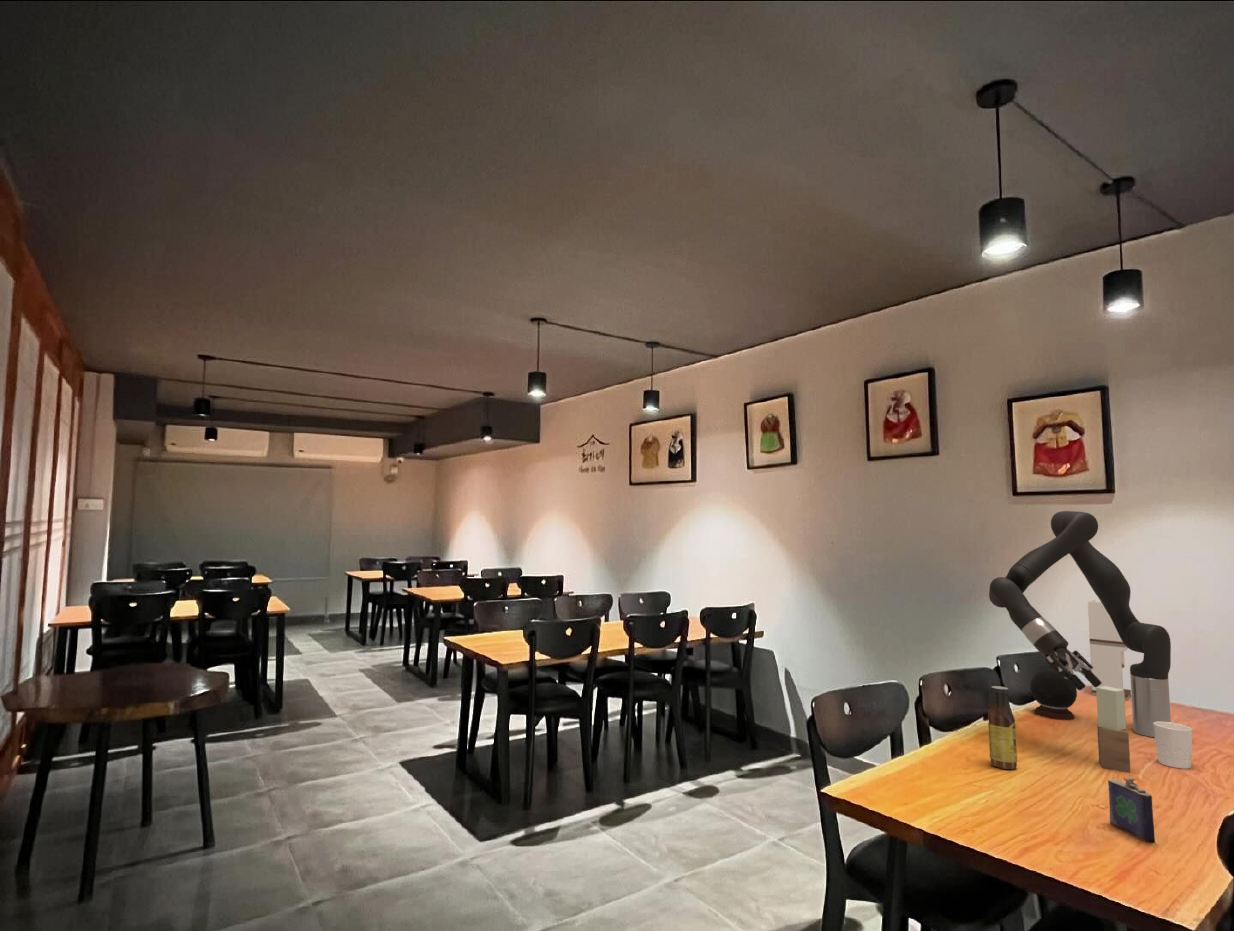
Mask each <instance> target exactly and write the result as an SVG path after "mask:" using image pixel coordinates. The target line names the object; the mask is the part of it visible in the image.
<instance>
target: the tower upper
mask: <svg viewBox="0 0 1234 931" xmlns="http://www.w3.org/2000/svg"><path fill="white" fill-rule="evenodd" d="M1096 727H1097V728H1096V729H1097V731H1096V732H1097V745H1098V744H1099V746H1100V748H1101V749H1107V750H1114V751H1121V752H1127V753H1130V737H1129V735H1130V734H1129V732H1128V729H1127V728H1126V729H1124V730H1120V731H1115V730H1111V729H1106V728H1102V727H1098V722H1097V723H1096Z"/></svg>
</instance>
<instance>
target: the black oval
mask: <svg viewBox="0 0 1234 931" xmlns="http://www.w3.org/2000/svg"><path fill="white" fill-rule="evenodd" d="M1030 680H1031V681H1030V686H1029V688H1030V693H1031V695H1032V696H1033V698H1034V700H1035V701H1036V702H1037V703H1038V704H1039V706H1037V707H1036V708H1034V714H1035V715H1037V716H1040V717H1043V718H1047V719H1051V720H1061V721H1071V720H1074V719H1075V715H1074V714H1073V712H1072V711H1071V710H1069V709H1068V708H1071V707H1072V706H1073V705H1074V703H1075V702H1076V700H1077V696H1078V691H1077V688H1076V687H1075V686H1074V685H1073V684H1072V683H1071V682H1070V681H1069V680H1068V679H1066V678H1064V677H1062V678H1061V677H1060V676H1059V675H1058V674H1057V673H1056V672H1055V671H1054V670H1053V669H1052V668H1047V669H1042V670H1038V672H1036V673H1035V674H1034V675H1033V677H1032V678H1031V679H1030Z"/></svg>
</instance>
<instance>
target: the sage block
mask: <svg viewBox="0 0 1234 931" xmlns="http://www.w3.org/2000/svg"><path fill="white" fill-rule="evenodd" d="M1123 689H1124V688H1123ZM1123 689H1118V688H1113V687H1108V686H1102V687H1097V688H1096V692H1097V696H1096V706H1097V707H1096V708H1097V710H1096V711H1097V723H1098V727H1102V728H1106V729H1111V730H1115V731H1120V730H1124V729H1126V730H1127V719H1126V718H1127V717H1126V716H1127V714H1126V700H1125V695H1124V690H1123Z"/></svg>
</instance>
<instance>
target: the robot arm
mask: <svg viewBox="0 0 1234 931" xmlns="http://www.w3.org/2000/svg"><path fill="white" fill-rule="evenodd" d="M1050 527H1051V531H1052V534H1053V535H1054V536H1055V537H1054V538H1052V539H1051V540H1049V541H1048V542H1046V543H1044V544H1042V545H1040V546H1038V547H1037V548H1034V549H1033V550H1030V551H1028V552H1027V553H1026V554H1024V555H1023V556H1022V557H1021V558H1019V560H1017V561H1016V562H1015V563H1014V564H1013V565H1012V566H1011V567H1010V569H1009V570H1008V572H1007V575H1005V577H1004V576H999V577H996V578H993V579H992V581H991V582H990V584H989V591H988V598H989V601H990V602H991V603H992V605H993V606H995V607H998V608H1000V609H1001V608H1003V609H1004V608H1005V609H1006V610H1007V612H1008V615H1009V617H1010V619H1011V621H1012V622H1013V623H1014V624H1015V626H1016V627H1017V628H1018V629H1019V630H1020V631H1021V632H1022V633H1023V635H1024V636H1025V638H1026V639H1027V640H1028V641H1029V642H1030V643H1031V645H1033V647H1035V649H1036V650H1037V651H1038V653H1039V654H1040V655H1042V657H1043V658H1044V661H1046V663H1047V664H1048V665H1049V666H1050V667H1051V669H1053V670H1054V671H1055V672H1056V673H1057V674H1058V675H1059V676H1060V677H1061V678H1062V677H1064V678H1066V679H1068V680H1069V681H1070V682H1071V683H1072V684H1073V685H1074V686H1075V687H1076V689H1077V690H1078V691H1082V690H1083V689H1085V688H1086V684H1085V683H1084V682H1083V681H1082V679H1080V677H1078V675H1076V673H1075V672H1078V673H1080V674H1081V675H1082V676H1084V678H1085V679H1086V680H1087V681H1088V682H1089V683H1090V684H1091V686H1092V685H1093V686H1094V687H1098V686H1099V685H1101V684H1102V682H1101V681H1100V680H1099V679H1098V678H1097V677H1096V676H1095V675H1094V674H1093V673H1092V672H1091V671H1092V669H1093V666H1092V665H1091V662H1089V661H1087V659H1086V658H1085V657H1084V656H1083V655H1082V654H1081V653H1080V652H1079V651H1078V650H1076V649H1075V650H1074V651H1072V652H1071V651H1070V650H1069V649H1068V646H1069V641H1067V639H1066V638H1065V637H1064V636H1063V635H1062V634H1061V633H1060V632H1059V631H1058V630H1057V629H1056V628H1055V626H1053V625H1052V624H1051V623H1050V622H1049V621H1047V620H1046V619H1045V618H1044V617H1043V616H1042V615H1041V613H1040V612H1038V611H1037V610H1036V608H1034V606H1032V604H1030V602H1029V600H1028V599H1027V597H1026V595H1025V594H1024V593H1025V591H1026V590H1027V589H1028V588H1029V586H1031V585H1032V584H1033V583H1034V582H1035V581H1036V580H1038V579H1039V578H1040V577H1041V576H1042V575H1043V574H1044V573H1045V572H1046V571H1047V570H1048V569H1050V568H1051V567H1052V566H1054V565H1055V564H1057V562H1059V561H1060V560H1062V559H1063V558H1064V557H1066V556H1068V555H1070V556H1071V558H1072V559H1073V560H1074V562H1075V564H1076V565H1077V567H1078V569H1079V570H1080V572H1081V573H1082V574H1083V576H1084V578H1085V580H1086V581H1087V582H1088V584H1089V586H1090V587H1091V589H1092V591H1093V592H1094V594H1095V595H1096V597H1097V598H1098V599H1099V602H1101V603H1102V604H1103V606H1104V608H1105V609H1106V611H1107V613H1108V614H1109V616H1110V618H1111V620H1112V622H1113V624H1114V626H1115V628H1116V630H1117V632H1118V634H1119V636H1120V638H1121V640H1122V641H1123V643H1124V644H1125V646H1126V647H1127V648H1128V649H1129V650H1130V651H1132V652H1136V653H1141V654H1143V659H1142V661H1141V662H1139V663H1133V664H1130V666H1129V676H1130V677H1129V678H1130V690H1131V696H1130V698H1131V711H1132V712H1131V714H1132V718H1131V719H1132V731H1133V732H1134V733H1137V734H1138V735H1142V736H1146V737H1150V738H1155V734H1154V725H1153V723H1154V722H1171V721H1172V719H1171V704H1170V703H1171V700H1170V687H1169V686H1170V684H1169V674H1170V670H1171V662H1172V661H1171V659H1172V658H1171V653H1172V648H1171V647H1172V645H1171V644H1172V643H1171V637H1170V634H1169V632H1168V630H1167V629H1166V628H1165V627H1164V626H1161V625H1157V624H1152V623H1145V622H1140V621H1139V619H1138V618H1137V617H1136V616H1135V614H1134V612H1132V610H1131V607H1130V600H1131V586H1130V584H1129V582H1128V580H1127V579H1126V577H1125V575H1124V574H1123V573H1122V571H1121V569H1120V568H1119V567H1118V566H1117V565H1116V564H1115V563H1114V562H1113V561H1112V560H1111V559H1109V558H1108V557H1107V556H1106V555H1104V554H1103V553H1101V551H1099V550H1098V549H1097V548H1096V547H1094V546H1093V545H1092V544H1091V542H1090V540H1091V541H1092V539H1094V537H1095V536H1096V535H1097V532H1098V531H1099V522H1098V519H1097V518H1096V517H1095V516H1094V515H1093V514H1091V513H1088V512H1085V511H1073V510H1072V511H1070V510H1062V511H1058V512H1056V513H1054V514H1053V515H1052V517H1051V520H1050ZM1171 723H1172V722H1171Z"/></svg>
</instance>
